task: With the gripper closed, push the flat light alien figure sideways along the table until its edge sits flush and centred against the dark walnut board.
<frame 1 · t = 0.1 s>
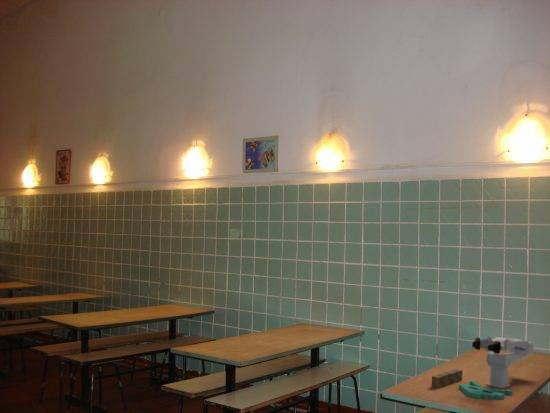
hand: (480, 346, 260), 22 cm above the table, tool horizontal, fingers open, 7 cm apart
walnut board: (447, 383, 272), on the table
alien figure: (482, 394, 259), on the table
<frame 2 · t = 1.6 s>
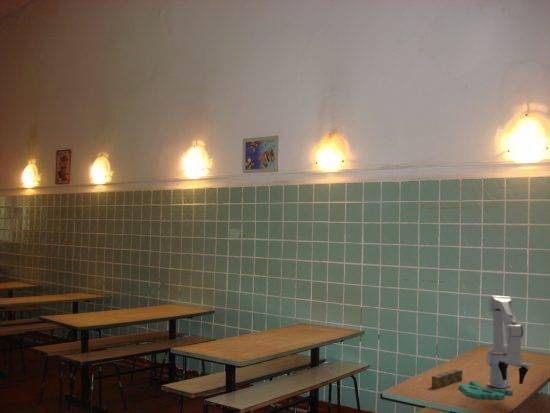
hand: (512, 381, 249), 8 cm above the table, tool pointing down, fingers open, 7 cm apart
nothing on the table moved.
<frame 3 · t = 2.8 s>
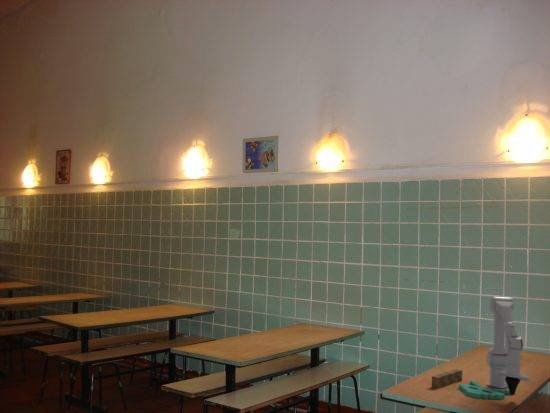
hand: (512, 394, 249), 3 cm above the table, tool pointing down, fingers closed
nothing on the table moved.
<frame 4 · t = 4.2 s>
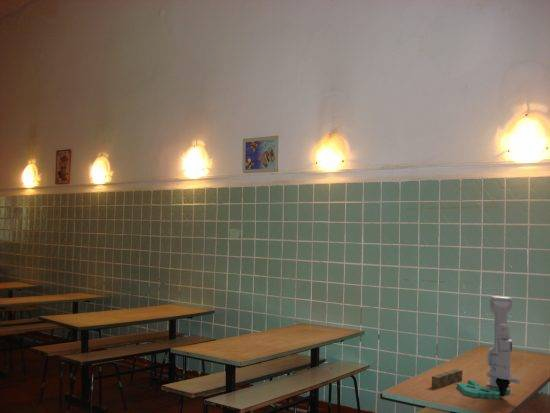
hand: (502, 395, 252), 1 cm above the table, tool pointing down, fingers closed
alien figure: (479, 393, 260), on the table, touching gripper
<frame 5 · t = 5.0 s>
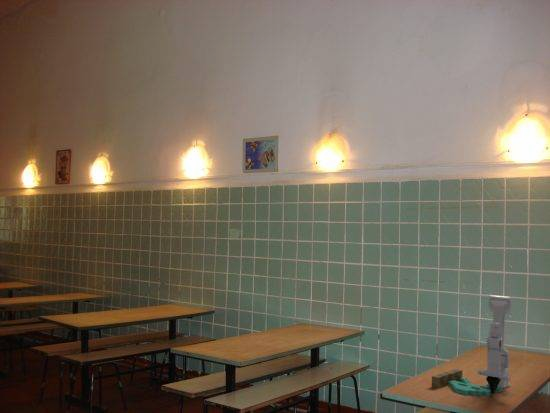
hand: (493, 393, 256), 1 cm above the table, tool pointing down, fingers closed
alien figure: (471, 390, 264), on the table, touching gripper
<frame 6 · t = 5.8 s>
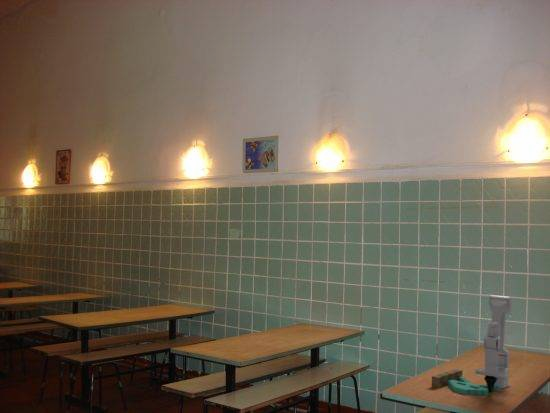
hand: (490, 392, 256), 1 cm above the table, tool pointing down, fingers closed, pressing on alien figure
alien figure: (469, 389, 265), on the table, touching gripper, walnut board
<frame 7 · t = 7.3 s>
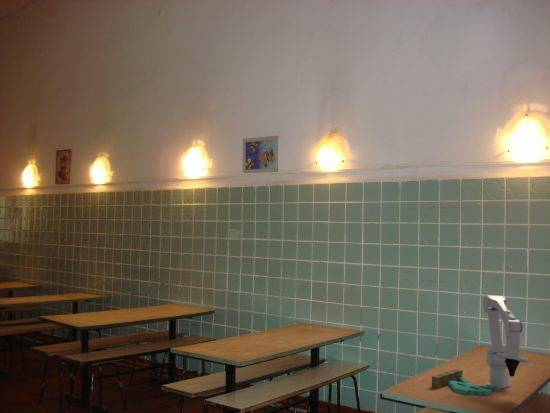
hand: (511, 375, 256), 9 cm above the table, tool pointing down, fingers closed
alien figure: (469, 390, 265), on the table
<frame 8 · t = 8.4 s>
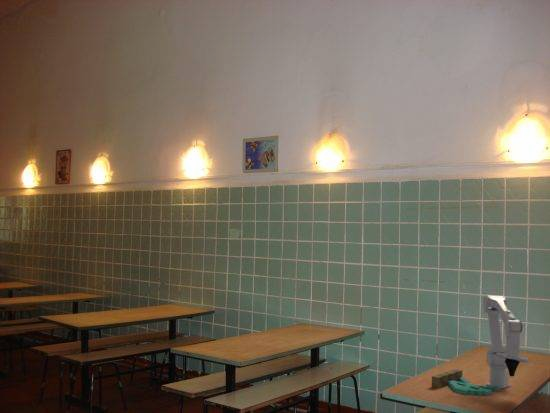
hand: (511, 375, 256), 9 cm above the table, tool pointing down, fingers closed
nothing on the table moved.
at the end: alien figure 0.8 cm from the target spot on the table beside the walnut board, on the table; alien figure tilted 1° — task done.
